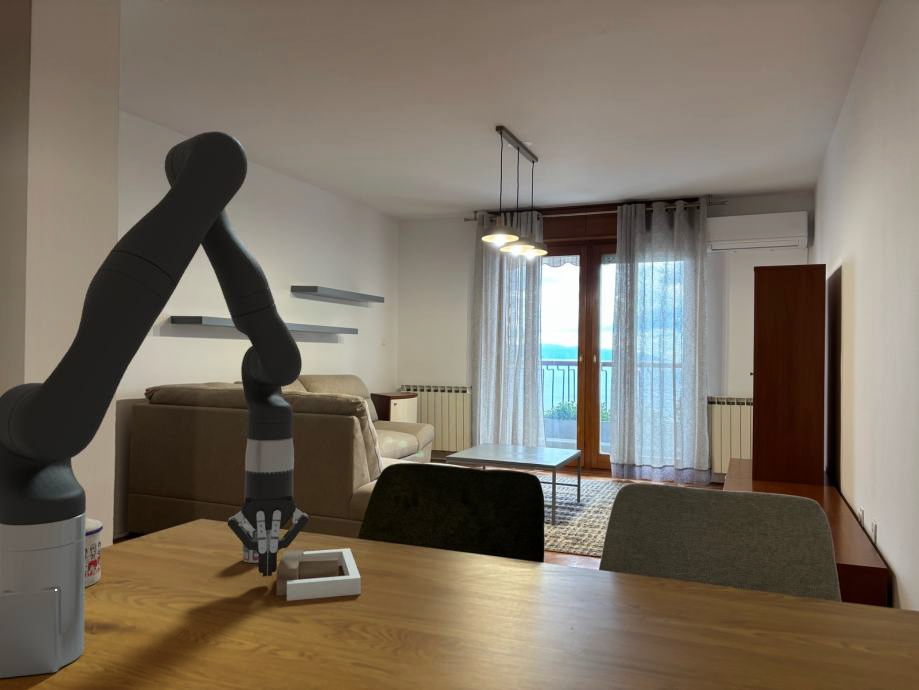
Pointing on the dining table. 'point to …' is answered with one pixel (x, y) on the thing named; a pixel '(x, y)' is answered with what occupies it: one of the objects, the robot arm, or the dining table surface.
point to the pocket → (328, 579)
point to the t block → (304, 568)
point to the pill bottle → (253, 555)
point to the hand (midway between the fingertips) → (267, 574)
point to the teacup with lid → (92, 551)
